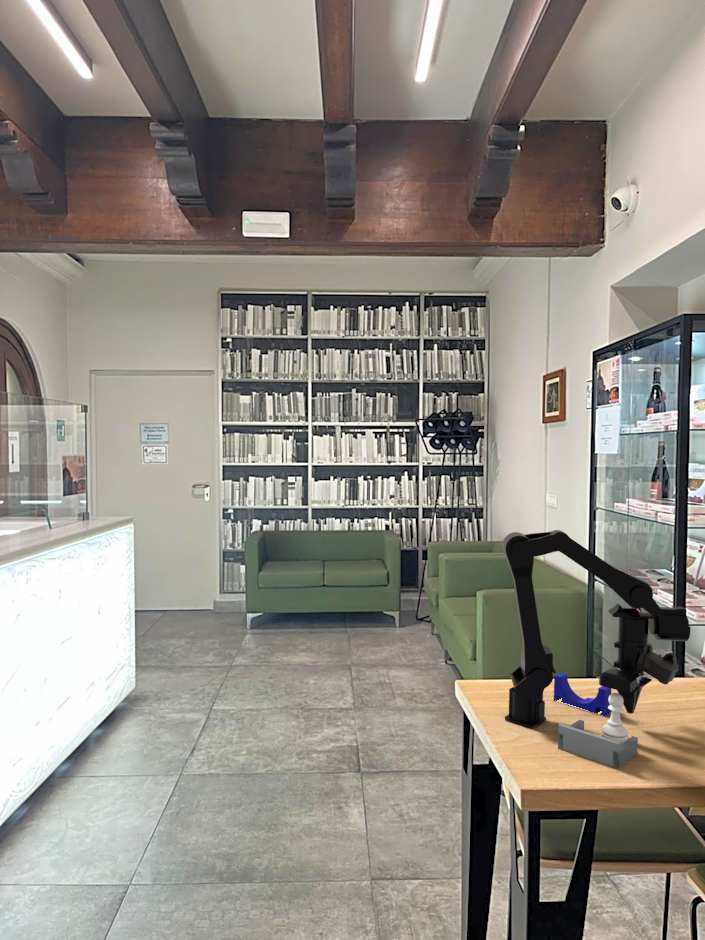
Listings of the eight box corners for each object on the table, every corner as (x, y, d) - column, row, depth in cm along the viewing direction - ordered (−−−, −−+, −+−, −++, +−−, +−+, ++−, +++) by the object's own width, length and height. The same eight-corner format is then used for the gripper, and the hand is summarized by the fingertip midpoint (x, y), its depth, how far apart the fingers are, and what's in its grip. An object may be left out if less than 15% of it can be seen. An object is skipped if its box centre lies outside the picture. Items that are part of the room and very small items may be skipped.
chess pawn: (595, 735, 136) (597, 691, 135) (614, 731, 138) (616, 687, 137) (614, 745, 131) (616, 699, 131) (634, 741, 133) (635, 696, 133)
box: (557, 748, 129) (558, 725, 129) (579, 734, 136) (579, 712, 136) (617, 768, 121) (618, 744, 121) (637, 753, 128) (638, 729, 128)
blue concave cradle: (613, 712, 149) (614, 685, 148) (604, 717, 145) (605, 690, 145) (563, 696, 157) (564, 671, 157) (553, 701, 154) (554, 675, 154)
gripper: (657, 656, 127) (654, 738, 128) (689, 637, 141) (686, 711, 141) (599, 644, 135) (596, 721, 135) (635, 627, 148) (632, 697, 149)
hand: (630, 712), depth 140 cm, fingers closed
